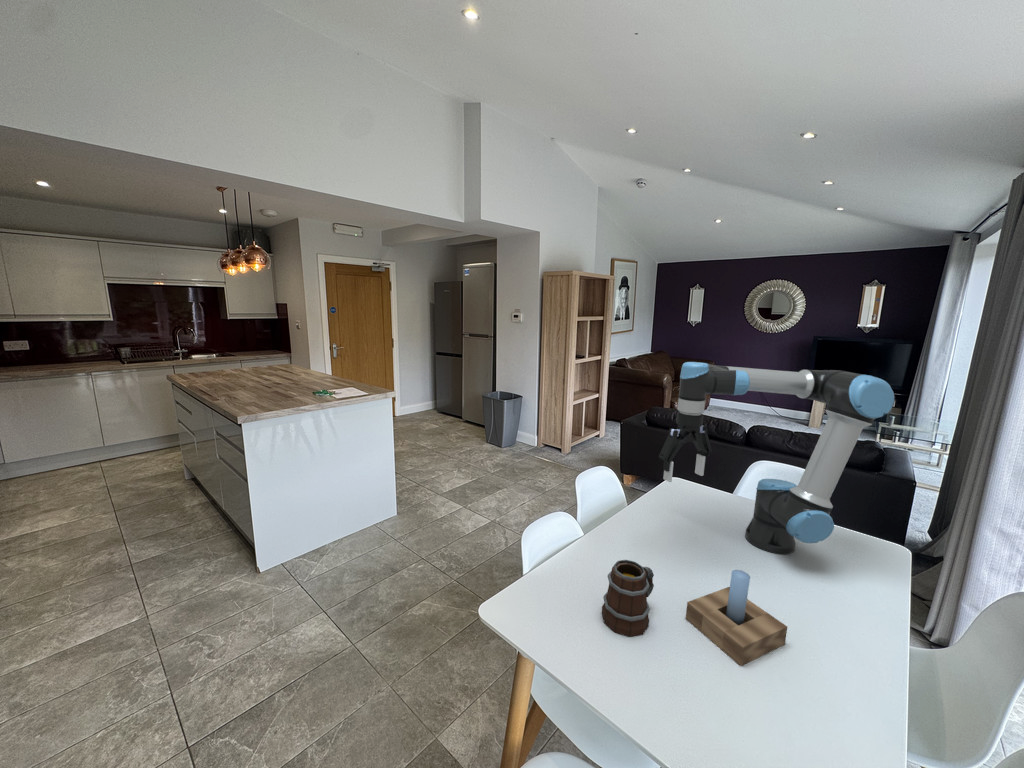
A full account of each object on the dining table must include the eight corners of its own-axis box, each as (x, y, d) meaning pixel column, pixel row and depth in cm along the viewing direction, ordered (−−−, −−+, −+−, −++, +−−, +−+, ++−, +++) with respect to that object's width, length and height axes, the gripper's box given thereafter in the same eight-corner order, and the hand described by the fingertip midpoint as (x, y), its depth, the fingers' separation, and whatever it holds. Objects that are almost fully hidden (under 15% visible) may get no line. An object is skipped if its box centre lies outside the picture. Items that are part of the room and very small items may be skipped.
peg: (731, 623, 107) (739, 568, 104) (745, 634, 103) (753, 577, 101) (720, 627, 105) (728, 571, 103) (734, 639, 102) (742, 581, 99)
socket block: (727, 602, 115) (729, 586, 114) (784, 644, 101) (787, 626, 100) (685, 618, 108) (687, 602, 107) (740, 666, 94) (743, 647, 93)
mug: (627, 644, 100) (632, 589, 97) (592, 613, 110) (595, 562, 107) (668, 619, 108) (673, 568, 105) (632, 593, 118) (636, 545, 115)
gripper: (708, 406, 134) (702, 467, 138) (650, 412, 124) (644, 478, 128) (729, 412, 128) (721, 476, 131) (669, 418, 117) (662, 488, 121)
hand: (683, 477), depth 130 cm, fingers open, 13 cm apart
